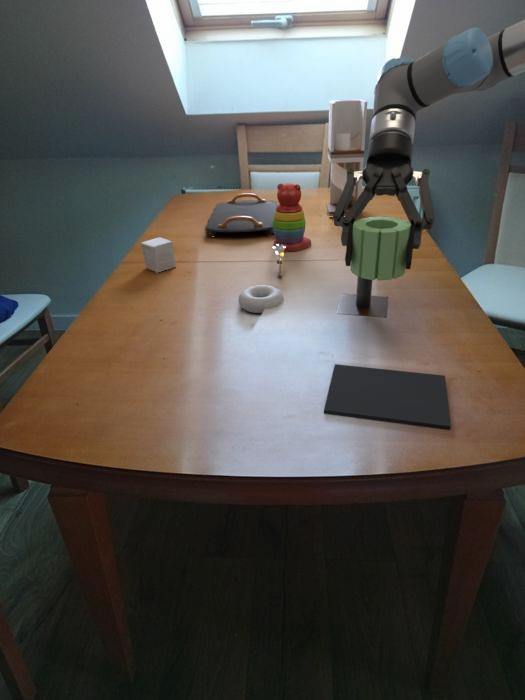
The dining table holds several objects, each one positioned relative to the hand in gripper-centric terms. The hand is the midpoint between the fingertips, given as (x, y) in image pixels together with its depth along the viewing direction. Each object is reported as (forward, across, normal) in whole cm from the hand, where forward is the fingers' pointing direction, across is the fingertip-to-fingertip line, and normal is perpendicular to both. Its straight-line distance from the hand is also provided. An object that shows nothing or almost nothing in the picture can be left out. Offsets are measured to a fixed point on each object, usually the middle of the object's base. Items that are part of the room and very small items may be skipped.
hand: (377, 264), depth 76 cm
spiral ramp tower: (-54, -16, +78) cm, 96 cm away
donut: (+1, -25, +22) cm, 33 cm away
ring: (-11, -25, +35) cm, 45 cm away
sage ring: (-1, 0, +4) cm, 4 cm away
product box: (-11, -58, +35) cm, 68 cm away
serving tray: (-43, -48, +67) cm, 93 cm away
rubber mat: (+21, +4, +3) cm, 21 cm away
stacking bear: (-27, -27, +51) cm, 63 cm away
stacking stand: (0, -3, +23) cm, 23 cm away
